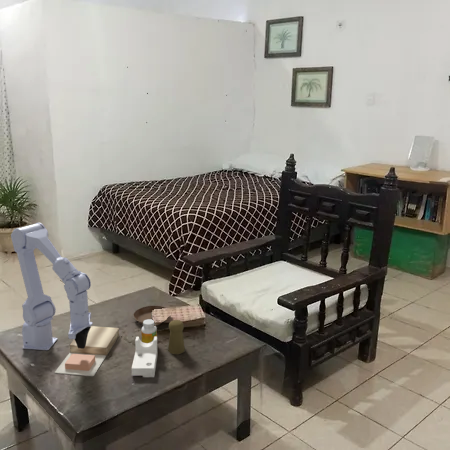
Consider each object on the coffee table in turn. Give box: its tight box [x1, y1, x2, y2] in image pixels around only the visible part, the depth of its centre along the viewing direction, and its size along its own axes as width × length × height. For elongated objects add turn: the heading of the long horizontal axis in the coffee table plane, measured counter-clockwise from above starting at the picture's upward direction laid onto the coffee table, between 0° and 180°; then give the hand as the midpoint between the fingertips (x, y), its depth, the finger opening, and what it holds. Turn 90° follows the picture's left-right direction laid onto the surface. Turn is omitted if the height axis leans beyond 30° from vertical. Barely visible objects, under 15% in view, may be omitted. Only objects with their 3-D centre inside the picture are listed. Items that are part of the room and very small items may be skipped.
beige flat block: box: [69, 325, 120, 356], centre depth 176 cm, size 13×14×3 cm
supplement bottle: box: [140, 319, 158, 343], centre depth 174 cm, size 5×5×10 cm
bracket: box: [131, 335, 159, 378], centre depth 163 cm, size 13×7×8 cm, turn 3°
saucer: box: [132, 305, 166, 326], centre depth 195 cm, size 15×15×3 cm
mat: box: [54, 352, 107, 377], centre depth 164 cm, size 13×12×1 cm
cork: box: [167, 319, 186, 355], centre depth 172 cm, size 6×6×11 cm
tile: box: [65, 353, 95, 371], centre depth 163 cm, size 8×6×2 cm
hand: (81, 347), depth 164 cm, fingers closed
